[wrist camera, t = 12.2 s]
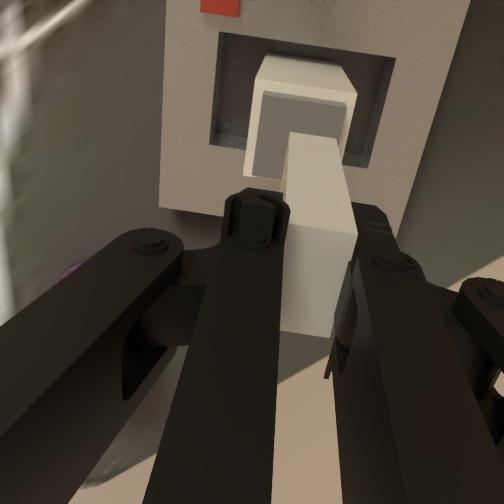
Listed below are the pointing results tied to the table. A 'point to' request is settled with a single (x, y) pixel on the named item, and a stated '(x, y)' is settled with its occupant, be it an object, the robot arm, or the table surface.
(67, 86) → the table surface
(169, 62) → the socket block
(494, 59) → the table surface
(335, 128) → the plug
